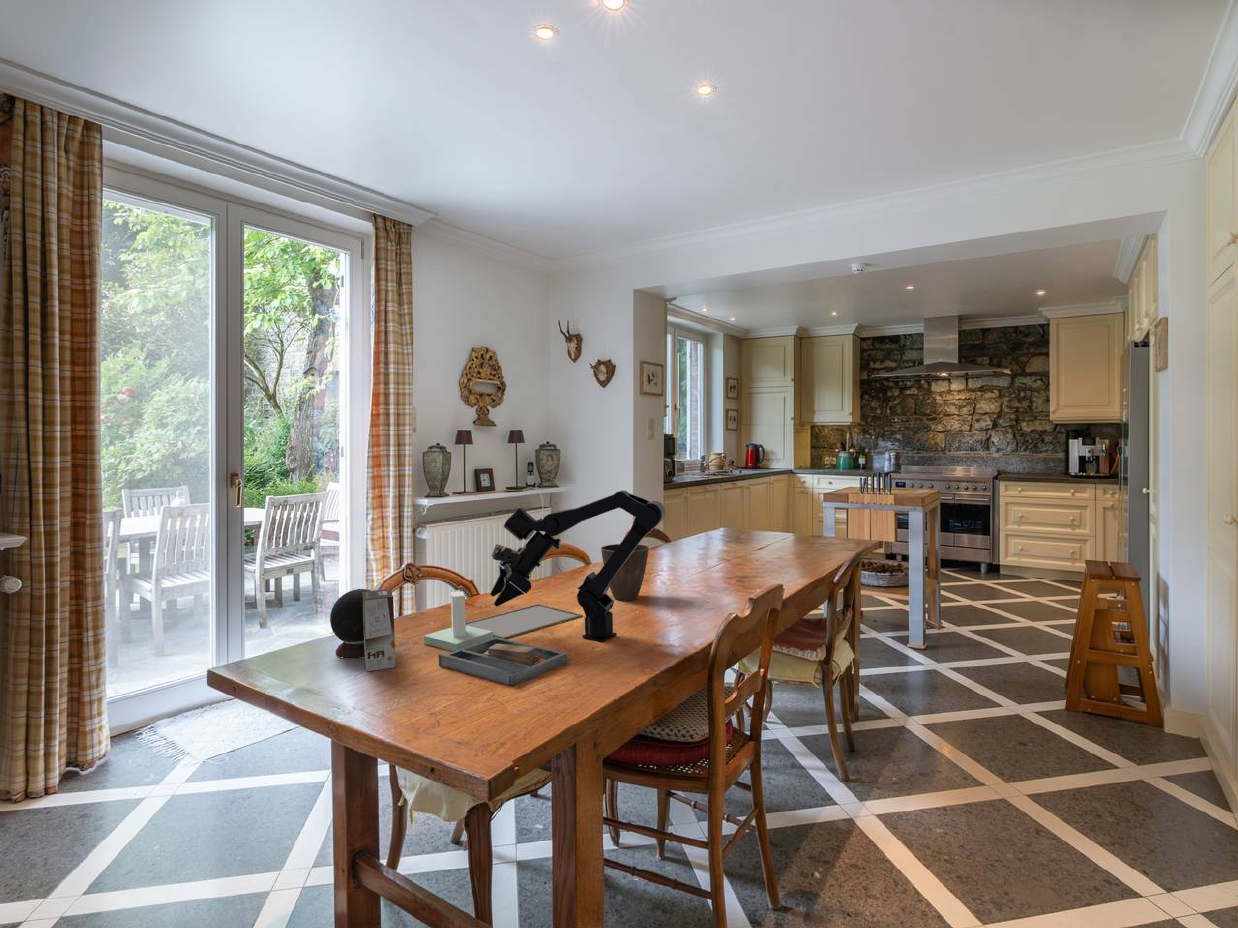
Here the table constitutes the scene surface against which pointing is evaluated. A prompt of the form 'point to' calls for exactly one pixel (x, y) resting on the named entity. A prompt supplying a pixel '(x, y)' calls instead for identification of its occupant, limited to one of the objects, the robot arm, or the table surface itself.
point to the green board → (457, 638)
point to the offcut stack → (513, 653)
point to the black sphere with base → (349, 624)
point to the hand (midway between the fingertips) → (493, 600)
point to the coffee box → (379, 629)
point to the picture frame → (522, 620)
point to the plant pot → (627, 572)
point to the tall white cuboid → (458, 614)
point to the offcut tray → (500, 662)
